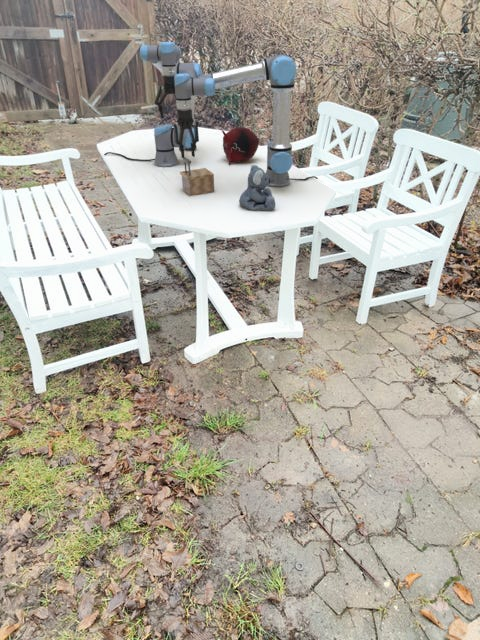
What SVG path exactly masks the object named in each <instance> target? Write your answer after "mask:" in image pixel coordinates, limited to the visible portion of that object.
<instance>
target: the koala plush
mask: <svg viewBox="0 0 480 640" xmlns="http://www.w3.org/2000/svg"><path fill="white" fill-rule="evenodd" d="M269 183H270V179H269V178H268V177H267V174H266V171H265V170H264V169H263V168H261V167H259V165H257V164H253V165H250V170H249V173H248V176H247V188H246V189H245V190H244V191H243V192H242V193H241V194H240V197H239V199H238V203H239V204H240V206H241V207H242V208H246V209H247V210H252V211H255V210H261V211H272V210H274V209H275V208H276V200H275V198H274V196H273V194H272V191H271V188H270V187H268V186H267V185H268V184H269Z"/></svg>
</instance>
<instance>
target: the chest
mask: <svg viewBox="0 0 480 640" xmlns="http://www.w3.org/2000/svg"><path fill="white" fill-rule="evenodd" d="M181 183H182V184H181V187H182V190H183V191H184V192H185V193H186V194H188V195H189V196H192V197H193V196H198V195H203V194H210V193H211V194H212V193H215V175H214V176H210V177H204V178H197V179H191V180H187V179H186V178H184V177H183V176H182V175H181Z"/></svg>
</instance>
